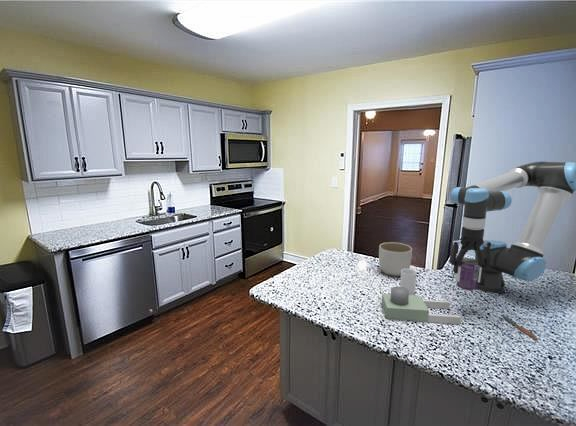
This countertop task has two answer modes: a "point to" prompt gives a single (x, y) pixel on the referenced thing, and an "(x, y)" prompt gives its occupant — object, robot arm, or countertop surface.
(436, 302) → the stepped platform base
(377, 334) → the countertop surface
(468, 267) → the beverage can
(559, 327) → the countertop surface
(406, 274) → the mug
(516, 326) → the knife
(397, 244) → the planter
